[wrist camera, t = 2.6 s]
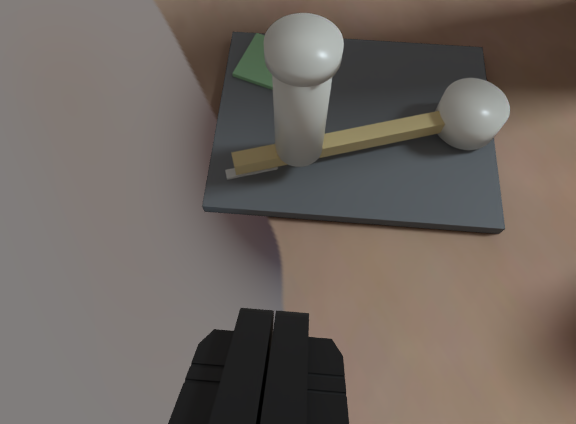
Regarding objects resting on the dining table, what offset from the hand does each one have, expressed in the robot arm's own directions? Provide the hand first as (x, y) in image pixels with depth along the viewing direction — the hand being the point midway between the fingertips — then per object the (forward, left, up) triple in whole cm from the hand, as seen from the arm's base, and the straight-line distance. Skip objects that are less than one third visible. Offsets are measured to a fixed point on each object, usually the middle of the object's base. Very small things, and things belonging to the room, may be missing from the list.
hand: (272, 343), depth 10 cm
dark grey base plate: (-15, -8, -15) cm, 22 cm away
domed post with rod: (-14, -6, -13) cm, 20 cm away
